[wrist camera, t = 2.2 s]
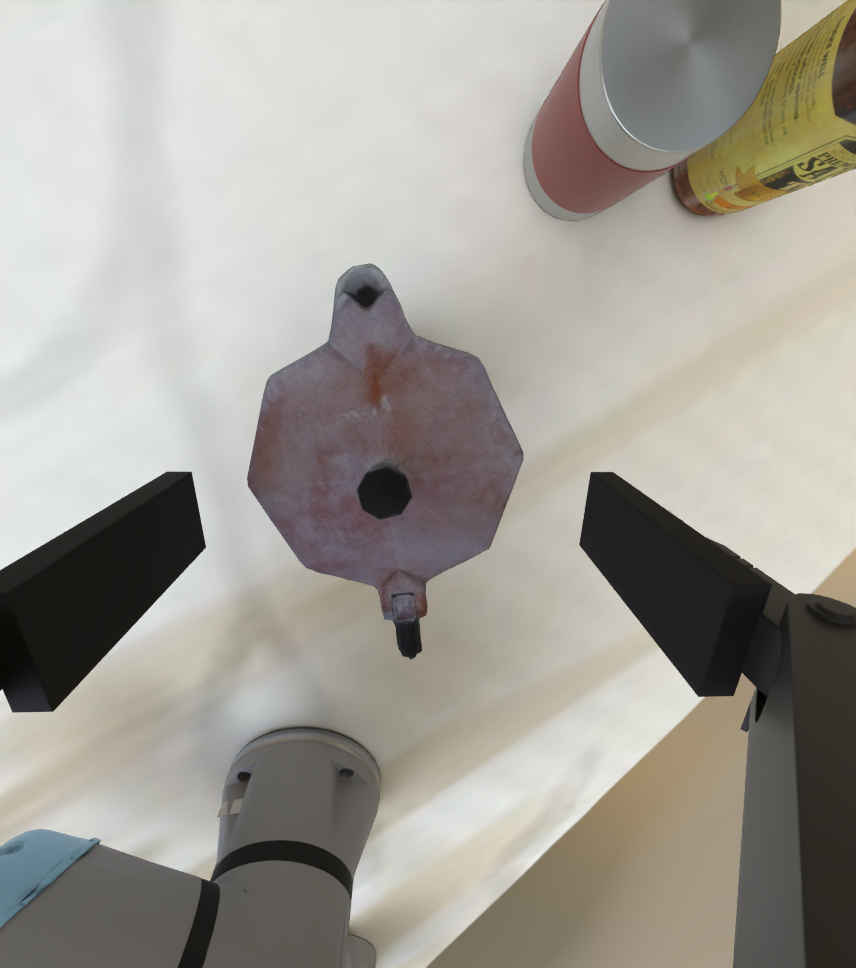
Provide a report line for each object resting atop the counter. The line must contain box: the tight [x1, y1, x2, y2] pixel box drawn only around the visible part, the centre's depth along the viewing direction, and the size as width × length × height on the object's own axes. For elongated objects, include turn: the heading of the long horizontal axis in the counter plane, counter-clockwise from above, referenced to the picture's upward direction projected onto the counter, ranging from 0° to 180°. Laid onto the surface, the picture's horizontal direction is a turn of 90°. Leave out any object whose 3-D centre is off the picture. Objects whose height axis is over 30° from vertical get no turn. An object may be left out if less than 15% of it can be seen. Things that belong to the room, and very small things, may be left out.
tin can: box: [523, 0, 781, 221], centre depth 21 cm, size 7×7×11 cm
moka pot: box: [247, 264, 523, 659], centre depth 21 cm, size 10×15×20 cm, turn 10°
